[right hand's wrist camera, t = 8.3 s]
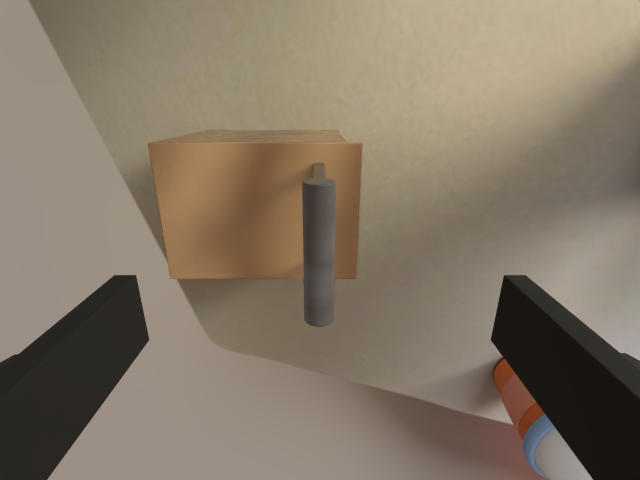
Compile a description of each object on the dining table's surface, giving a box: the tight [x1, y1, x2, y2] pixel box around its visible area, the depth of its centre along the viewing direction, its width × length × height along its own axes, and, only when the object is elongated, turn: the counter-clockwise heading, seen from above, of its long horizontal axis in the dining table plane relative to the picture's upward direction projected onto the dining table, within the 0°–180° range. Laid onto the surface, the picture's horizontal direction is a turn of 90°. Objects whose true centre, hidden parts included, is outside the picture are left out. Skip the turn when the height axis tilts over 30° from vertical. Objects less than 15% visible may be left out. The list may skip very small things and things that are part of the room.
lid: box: [148, 142, 362, 327], centre depth 21 cm, size 14×10×9 cm
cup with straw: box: [494, 359, 593, 480], centre depth 35 cm, size 9×9×18 cm
